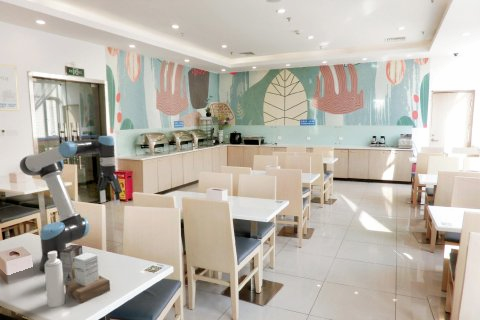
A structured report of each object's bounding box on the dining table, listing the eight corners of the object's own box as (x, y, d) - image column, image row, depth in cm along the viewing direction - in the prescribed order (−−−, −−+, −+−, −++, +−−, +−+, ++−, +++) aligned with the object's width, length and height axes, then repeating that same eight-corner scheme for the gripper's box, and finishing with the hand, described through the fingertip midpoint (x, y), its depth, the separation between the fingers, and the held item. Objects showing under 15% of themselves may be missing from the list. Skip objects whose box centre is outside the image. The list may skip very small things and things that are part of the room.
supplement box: (75, 283, 158) (73, 257, 157) (89, 276, 165) (87, 251, 163) (85, 287, 155) (83, 260, 153) (99, 280, 161) (97, 254, 159)
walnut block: (65, 293, 159) (65, 283, 158) (94, 282, 170) (93, 272, 169) (81, 303, 150) (80, 292, 150) (110, 290, 161) (109, 280, 161)
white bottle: (44, 306, 149) (39, 250, 146) (56, 298, 155) (52, 245, 152) (56, 308, 146) (51, 252, 143) (68, 300, 153) (64, 246, 150)
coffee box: (73, 273, 180) (71, 244, 178) (84, 274, 179) (82, 244, 177) (61, 281, 171) (59, 250, 169) (73, 282, 170) (70, 251, 168)
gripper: (88, 164, 187) (91, 202, 190) (114, 167, 172) (116, 208, 174) (101, 162, 193) (103, 199, 196) (127, 165, 178) (129, 205, 180)
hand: (110, 204), depth 185 cm, fingers open, 13 cm apart
